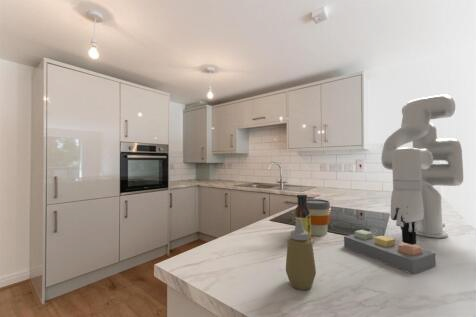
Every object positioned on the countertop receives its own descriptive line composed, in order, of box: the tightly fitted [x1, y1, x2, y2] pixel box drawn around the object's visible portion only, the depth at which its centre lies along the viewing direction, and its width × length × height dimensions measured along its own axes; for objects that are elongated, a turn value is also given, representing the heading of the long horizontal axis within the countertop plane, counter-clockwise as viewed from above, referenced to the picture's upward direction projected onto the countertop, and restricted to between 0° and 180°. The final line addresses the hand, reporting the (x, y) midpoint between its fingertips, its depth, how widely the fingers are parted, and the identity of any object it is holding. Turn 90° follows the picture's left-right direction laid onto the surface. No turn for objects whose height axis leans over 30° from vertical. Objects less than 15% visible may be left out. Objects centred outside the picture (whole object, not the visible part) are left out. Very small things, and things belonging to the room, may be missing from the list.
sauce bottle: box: [294, 193, 312, 241], centre depth 94 cm, size 7×6×20 cm
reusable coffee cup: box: [307, 198, 331, 237], centre depth 104 cm, size 13×13×15 cm
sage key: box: [354, 229, 374, 240], centre depth 85 cm, size 4×4×2 cm
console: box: [343, 233, 437, 275], centre depth 78 cm, size 12×24×4 cm, turn 24°
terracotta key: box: [398, 242, 423, 256], centre depth 71 cm, size 4×4×2 cm
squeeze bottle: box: [285, 218, 317, 291], centre depth 61 cm, size 8×8×18 cm
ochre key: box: [374, 235, 396, 247], centre depth 78 cm, size 4×4×2 cm
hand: (409, 243), depth 71 cm, fingers closed
